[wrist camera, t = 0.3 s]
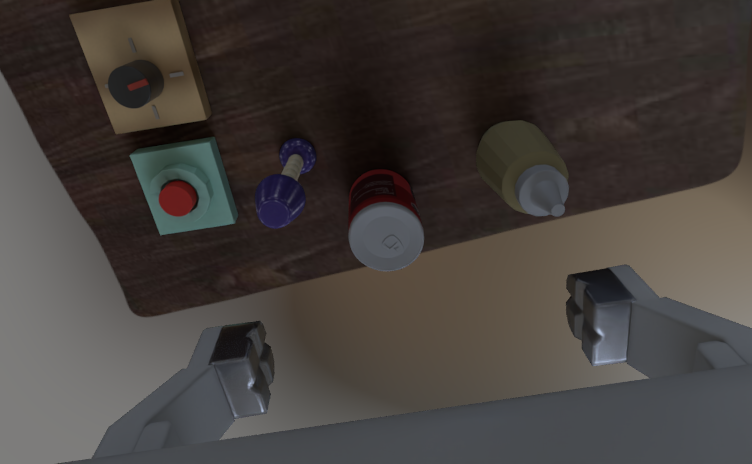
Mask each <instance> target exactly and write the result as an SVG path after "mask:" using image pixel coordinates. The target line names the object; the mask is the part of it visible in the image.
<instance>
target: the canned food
mask: <svg viewBox="0 0 752 464" xmlns="http://www.w3.org/2000/svg"><path fill="white" fill-rule="evenodd" d="M348 237H349V243H350V247H351V249H352V252H353V253H354V255H355V256H356V258H357V259H358V260H359V261H360V262H362V263H363V264H365V265H366V266H368V267H370V268H372V269H375V270H380V271H395V270H399V269H402V268H404V267H406V266H408V265H409V264H411V263H412V262H413V261H414V260H415V259H416V258H417V257H418V256H419V254H420V252H421V250H422V247H423V243H424V231H423V227H422V222H421V219H420V215H419V212H418V208H417V205H416V201H415V198H414V194H413V191H412V188H411V187H410V185H409V183H408V182H407V181H406V180H405V179H404V178H403V177H402V176H401V175H399V174H397V173H395V172H393V171H390V170H387V169H374V170H371V171H368V172H366V173H364V174H363V175H361V176H360V177H359V178H358V179H357V180H356V181H355V182H354V184H353V186H352V187H351V190H350V194H349V224H348Z"/></svg>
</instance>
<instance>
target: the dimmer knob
mask: <svg viewBox="0 0 752 464" xmlns="http://www.w3.org/2000/svg"><path fill="white" fill-rule="evenodd" d="M108 88H109V91H110V93H111V95H112V97H113V98H114V99H115V100H116V101H117V102H118V103H119V104H121V105H122V106H124V107H127V108H132V109H136V108H140V107H143V106H144V105H146V104H147V103H149V102H150V101H152V100H153V99H155V98H157V97H158V96H159V95H160V94H161V93H162V91H163V88H164V78H163V75H162V73H161V71H160V70H159V69H158V68H157V67H156V66H155V65H154V64H153V63H151V62H149V61H146V60H135V61H132V62H130V63H127V64H125V65H122V66H120V67H118V68H116V69H114V70H113V71H112V72H111V74H110V75H109V78H108Z"/></svg>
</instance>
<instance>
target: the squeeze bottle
mask: <svg viewBox="0 0 752 464" xmlns="http://www.w3.org/2000/svg"><path fill="white" fill-rule="evenodd" d="M476 166H477V169H478V171H479V174H480V176H481V178H482V179H483V180H484V181H485V182H486V183H487V184H488V185H489V186H490V187H491V188H492V189H493V190H494V191H495V192H496V193H497V194H498V195H499V196H500V197H501V198H502V199H503V200H504V201H505V202H506V203H508V204H509V205H510V206H511V207H512V208H513V209H514V210H516V211H520V212H523V213H526V214H527V213H528V214H532V215H535V216H546V215H549V214H552V215H553V216H561V215H562V214H563V213H564V211H565V207H564V202H565V201H566V199H567V197H568V191H569V186H568V175H569V174H568V171H567V168H566V165H565V163H564V162H563V160H562V159H561V157H560V156H559V154H558V153H557V152H556V150H555V149H554V147H553V146H552V145H551V143H550V142H549V140H548V139H547V137H546V136H545V135H544V133H543V132H542V131H540V130H539V129H538V128H537V127H536V126H535V125H534V124H531V123H528V122H525V121H522V120H518V121H506V122H501V123H498V124H496V125H494V126H492V127H490V128H489V129H488V130H487V132H486V133H485V134H484V135H483V137H482V139H481V141H480V144H479V146H478V149H477V153H476Z"/></svg>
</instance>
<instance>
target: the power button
mask: <svg viewBox="0 0 752 464" xmlns="http://www.w3.org/2000/svg"><path fill="white" fill-rule="evenodd" d="M196 200H197V195H196V192H195V190H194V188H193V187H192V186H191V185H190V184H188V183H186V182H184V181H172V182H170V183H168V184H167V185H166V186H165V187H164V189H163V190H162V191H161V192H160V194H159V204H160V206H161V208H162V209H163V210H164V211H165V212H166V213H167V214H169V215H172V216H176V217H180V216H184V215H186V214H188V213H189V212H190V211H191V209H192V208H193V206H194V205H195V203H196Z"/></svg>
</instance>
